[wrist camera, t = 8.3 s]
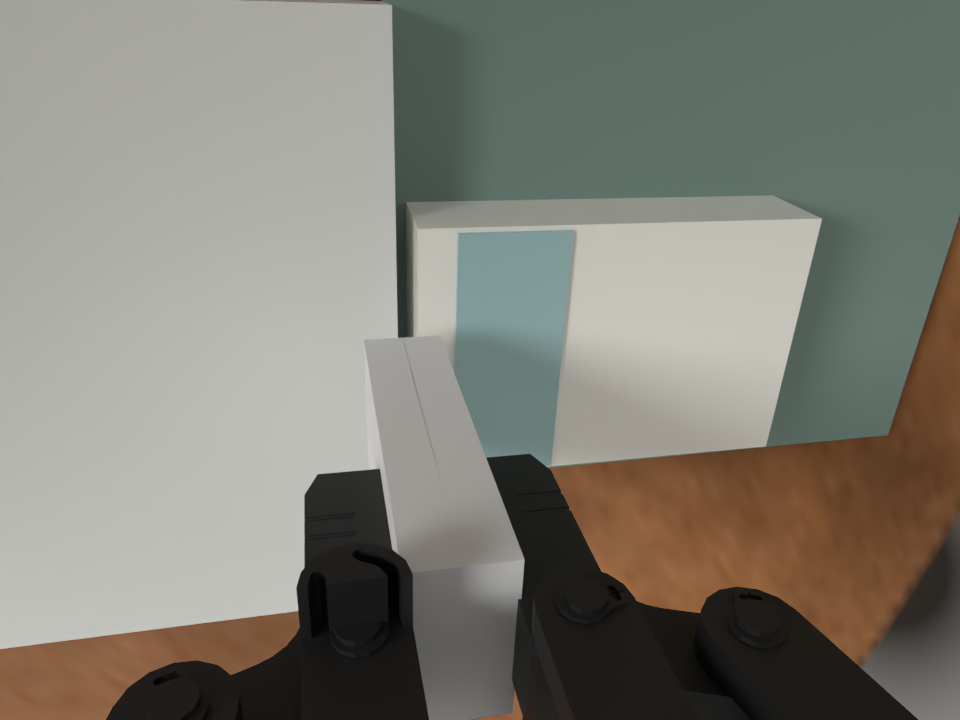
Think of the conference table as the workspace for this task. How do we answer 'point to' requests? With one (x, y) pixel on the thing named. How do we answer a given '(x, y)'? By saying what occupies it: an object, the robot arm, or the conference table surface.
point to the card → (612, 318)
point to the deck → (183, 298)
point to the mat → (713, 148)
